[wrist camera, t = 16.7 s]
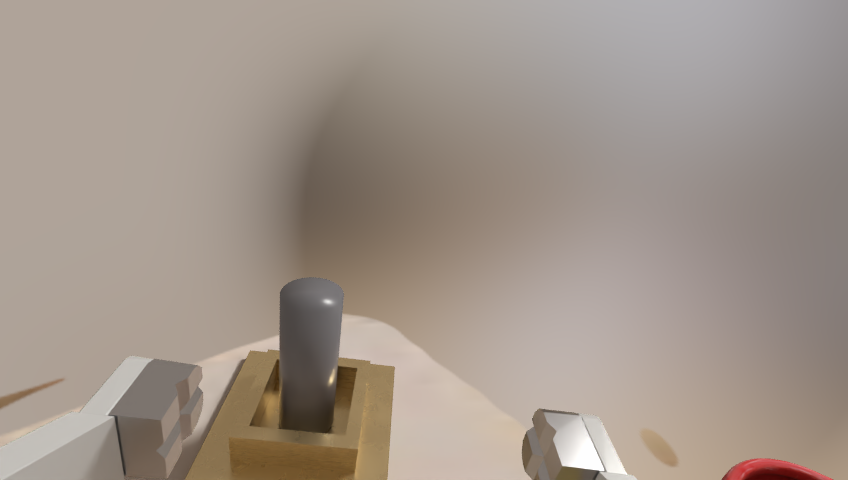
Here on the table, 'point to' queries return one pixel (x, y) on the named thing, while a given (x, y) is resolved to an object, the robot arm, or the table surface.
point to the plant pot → (771, 471)
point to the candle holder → (298, 450)
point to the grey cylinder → (309, 353)
